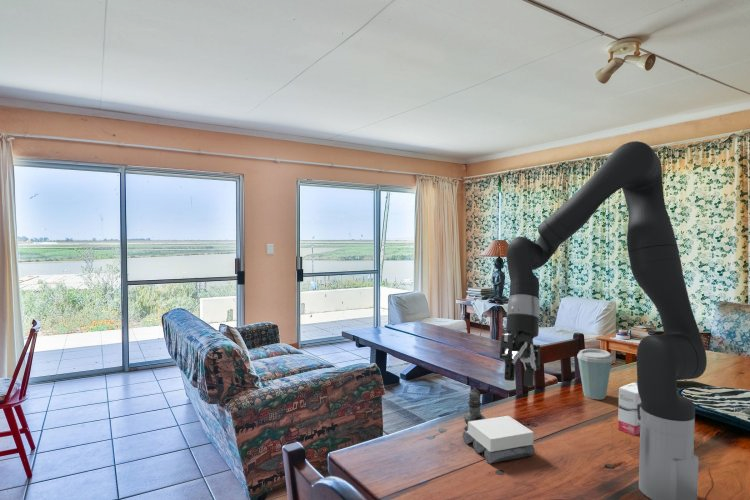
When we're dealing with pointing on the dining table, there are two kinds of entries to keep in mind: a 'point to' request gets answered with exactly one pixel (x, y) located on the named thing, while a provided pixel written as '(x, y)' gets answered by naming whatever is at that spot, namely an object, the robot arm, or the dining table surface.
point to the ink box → (629, 409)
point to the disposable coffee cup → (594, 372)
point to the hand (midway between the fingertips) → (519, 383)
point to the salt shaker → (473, 408)
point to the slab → (500, 433)
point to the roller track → (501, 454)
